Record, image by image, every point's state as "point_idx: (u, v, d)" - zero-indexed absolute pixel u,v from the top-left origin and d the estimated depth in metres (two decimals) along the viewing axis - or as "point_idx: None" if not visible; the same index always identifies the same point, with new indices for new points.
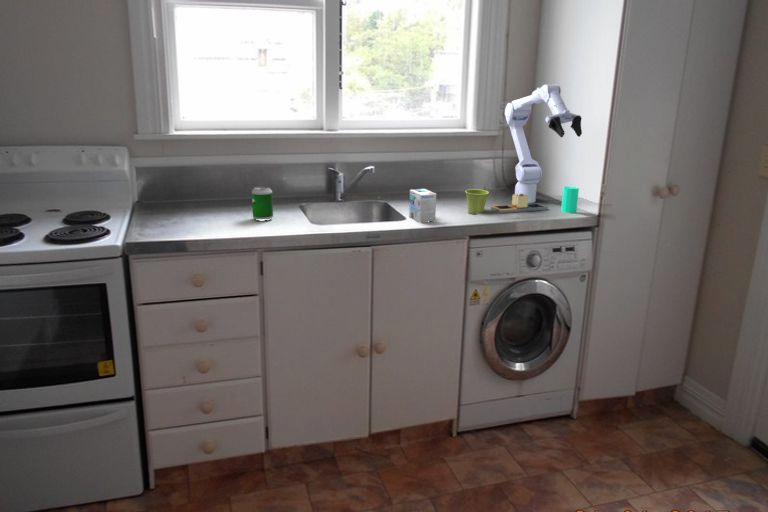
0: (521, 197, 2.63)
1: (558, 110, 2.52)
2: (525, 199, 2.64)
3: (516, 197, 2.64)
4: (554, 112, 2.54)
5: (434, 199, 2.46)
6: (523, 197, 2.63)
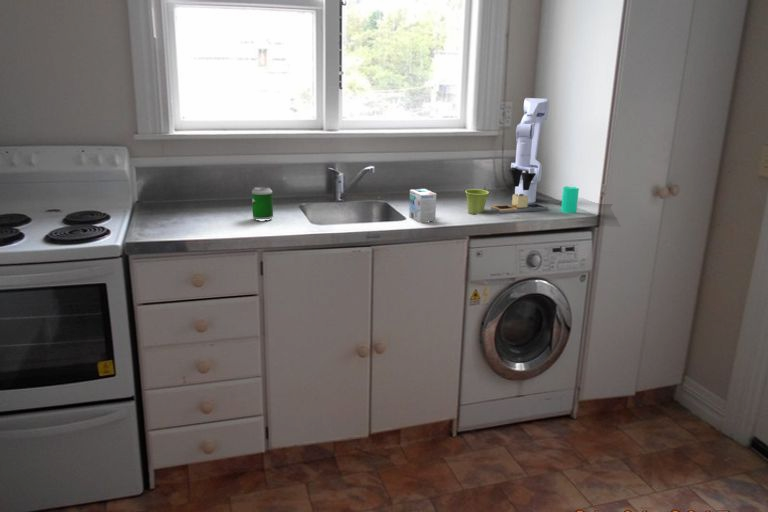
0: (521, 197, 2.63)
1: None
2: (525, 199, 2.64)
3: (516, 197, 2.64)
4: None
5: (434, 199, 2.46)
6: (523, 197, 2.63)
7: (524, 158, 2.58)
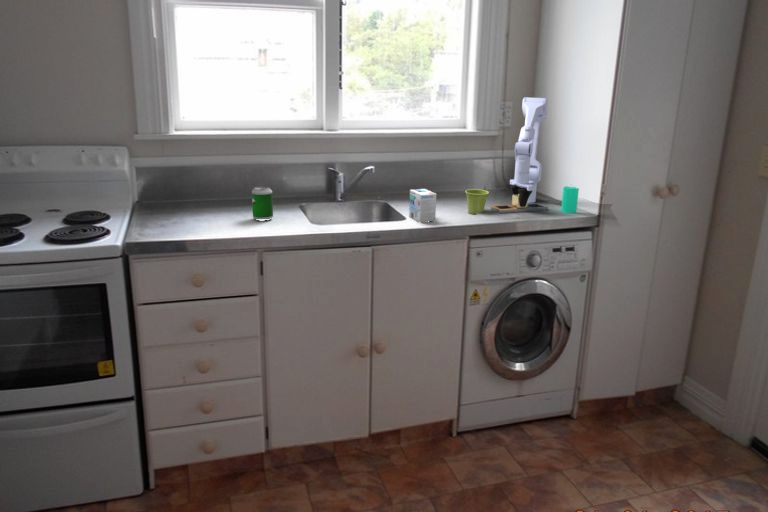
0: None
1: None
2: None
3: (516, 197, 2.64)
4: None
5: (434, 199, 2.46)
6: None
7: (523, 175, 2.60)
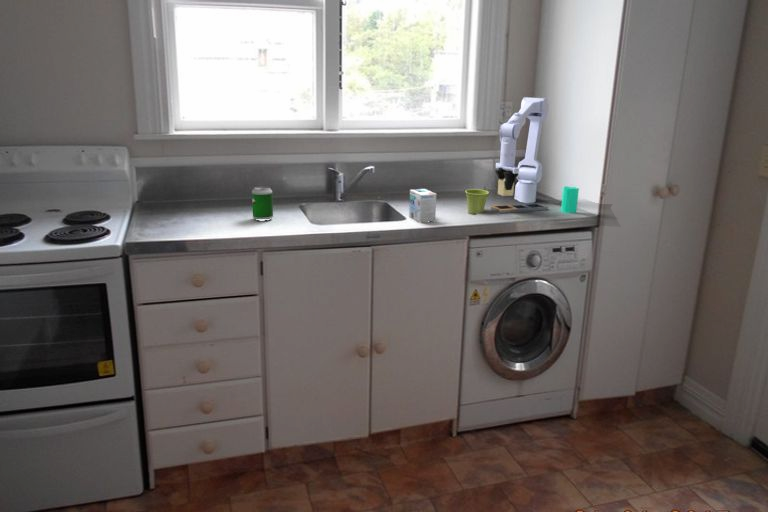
0: None
1: None
2: None
3: (502, 182, 2.59)
4: None
5: (434, 199, 2.46)
6: None
7: (509, 158, 2.56)
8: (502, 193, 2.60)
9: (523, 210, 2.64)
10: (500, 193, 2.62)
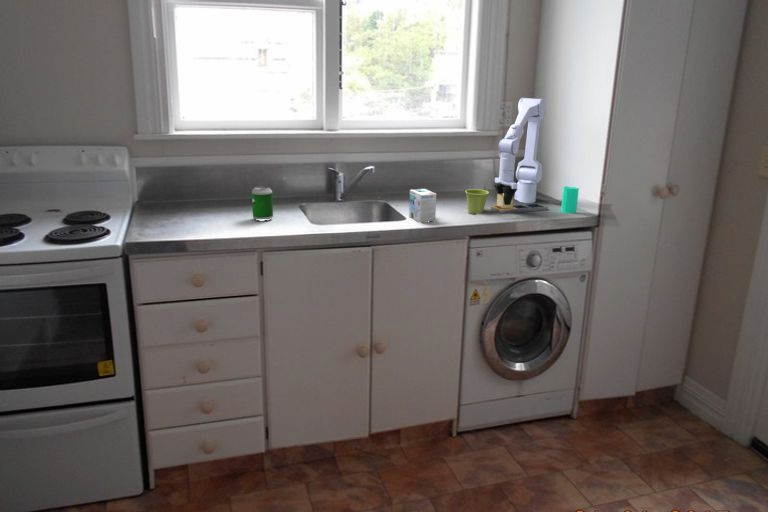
0: None
1: None
2: None
3: (501, 197, 2.61)
4: None
5: (434, 199, 2.46)
6: None
7: (507, 173, 2.57)
8: (501, 208, 2.62)
9: (523, 210, 2.64)
10: (499, 208, 2.64)
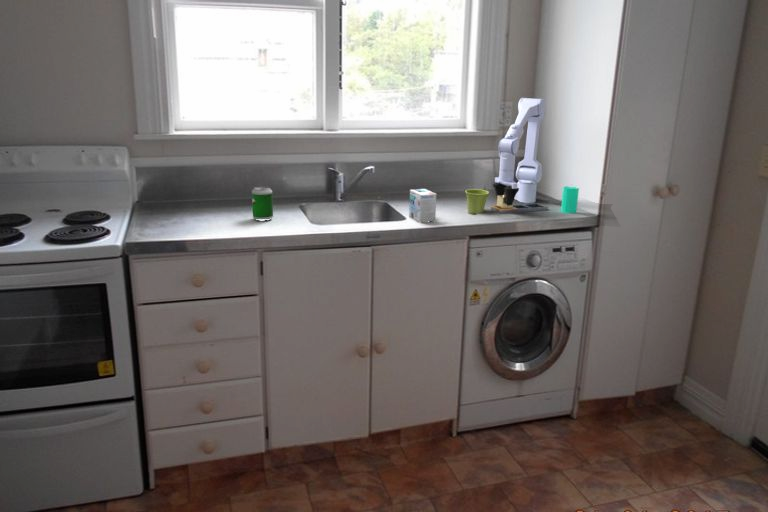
0: None
1: None
2: None
3: (501, 198, 2.61)
4: None
5: (434, 199, 2.46)
6: None
7: (507, 173, 2.57)
8: None
9: (523, 210, 2.64)
10: None
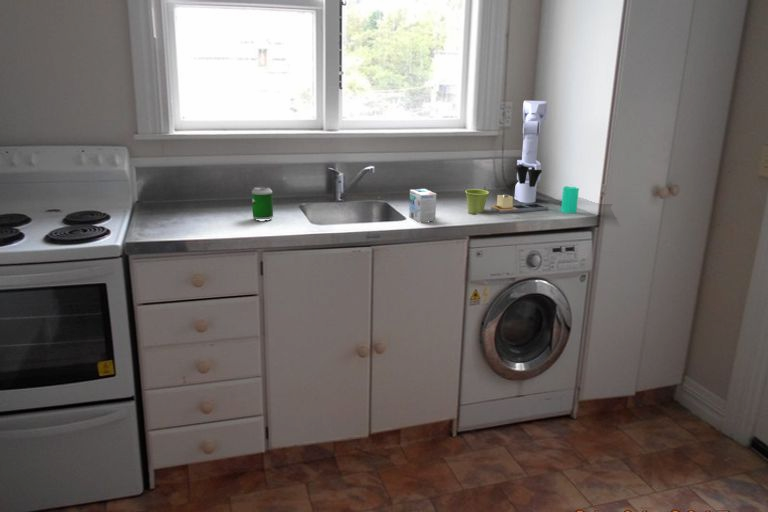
0: (506, 198, 2.61)
1: None
2: (510, 200, 2.62)
3: (501, 198, 2.61)
4: None
5: (434, 199, 2.46)
6: (508, 198, 2.61)
7: (531, 154, 2.61)
8: None
9: (523, 210, 2.64)
10: None
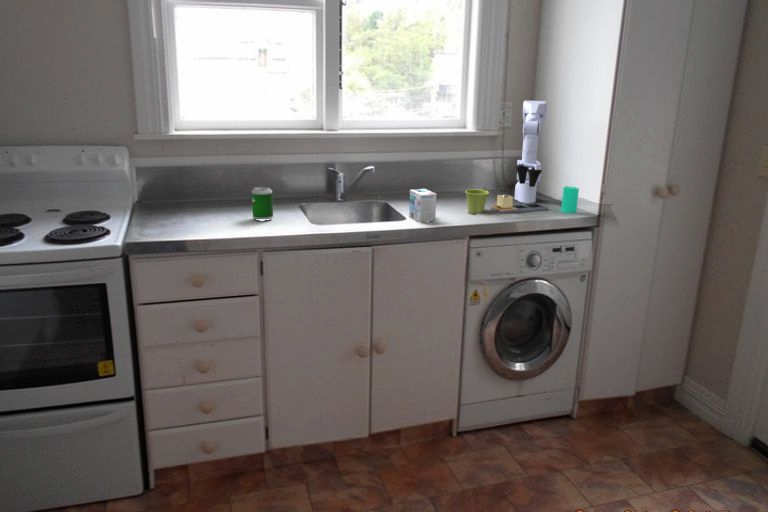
0: (506, 198, 2.61)
1: None
2: (510, 200, 2.62)
3: (501, 198, 2.61)
4: None
5: (434, 199, 2.46)
6: (508, 198, 2.61)
7: (531, 154, 2.61)
8: None
9: (523, 210, 2.64)
10: None
